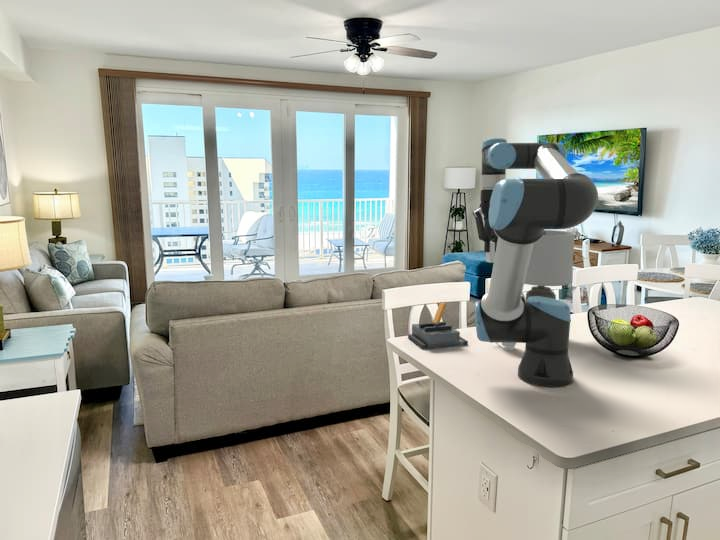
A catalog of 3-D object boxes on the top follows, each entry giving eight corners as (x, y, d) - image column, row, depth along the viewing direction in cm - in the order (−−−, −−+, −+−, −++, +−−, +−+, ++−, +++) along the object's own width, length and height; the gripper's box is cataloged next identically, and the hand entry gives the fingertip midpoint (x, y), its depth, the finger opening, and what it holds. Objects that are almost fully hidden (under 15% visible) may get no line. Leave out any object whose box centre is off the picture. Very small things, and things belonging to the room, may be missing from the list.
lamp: (499, 334, 194) (503, 230, 188) (528, 324, 208) (533, 226, 201) (550, 347, 179) (557, 234, 173) (577, 335, 193) (585, 230, 186)
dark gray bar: (426, 348, 178) (426, 344, 178) (422, 349, 178) (422, 345, 178) (411, 338, 190) (411, 334, 190) (408, 338, 190) (408, 334, 190)
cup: (514, 352, 174) (515, 329, 172) (486, 347, 180) (487, 324, 179) (522, 347, 179) (523, 325, 178) (495, 342, 185) (496, 320, 184)
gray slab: (467, 345, 182) (467, 341, 182) (459, 345, 181) (460, 341, 181) (449, 333, 195) (449, 330, 195) (442, 334, 194) (442, 331, 194)
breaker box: (459, 345, 181) (460, 328, 180) (427, 349, 178) (427, 331, 177) (442, 334, 194) (442, 318, 193) (411, 337, 191) (412, 321, 190)
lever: (437, 327, 184) (446, 304, 183) (435, 326, 183) (444, 303, 183) (434, 324, 187) (443, 302, 186) (431, 323, 186) (440, 301, 186)
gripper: (504, 188, 172) (501, 259, 176) (468, 188, 168) (466, 261, 172) (517, 188, 164) (513, 262, 168) (480, 189, 161) (477, 264, 165)
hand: (490, 261), depth 170 cm, fingers closed
